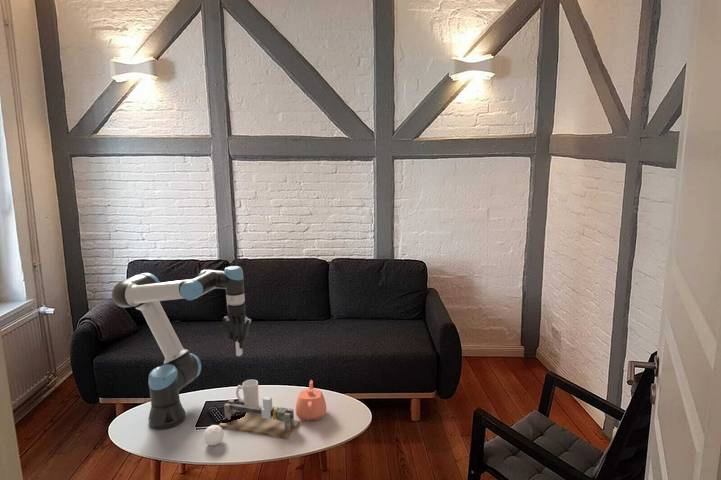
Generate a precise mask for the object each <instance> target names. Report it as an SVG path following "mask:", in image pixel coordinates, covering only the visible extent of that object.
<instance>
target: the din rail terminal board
mask: <svg viewBox="0 0 721 480" xmlns="http://www.w3.org/2000/svg"><path fill="white" fill-rule="evenodd" d="M262 408H263V407H252V406H245V405H243V404H240V403H239V404H238V403H235V399H229V400H228V402H226V403H225V404H224V405H223V409H224V410H223V411H224V419H226V418H227V419H228V420H230V419H231V414H234V413H235V411H241V412H246V414H245V416H244V417H242V418H240V419H237V420H233V421H231V422H228V423H221V422H220V423H219V424H218V425H219V426H220V427H221V428H222V429H227V430H232V431H238V432H244V433H250V434H256V435H262V436H267V437H272V438H279V439H286V440H289V438H290V437H291V436H292V434H294V432H295V431H296V429H297V428H298V427H299V425H300V423H301V422H300V421H301V420H295V417H294V416H295V413H294V408H287V407H278V406H277V407H274V410H272V411H271V416H273V417H272V418H271V419H264V418H262V413H261V409H262Z"/></svg>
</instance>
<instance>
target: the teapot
mask: <svg viewBox="0 0 721 480" xmlns="http://www.w3.org/2000/svg"><path fill="white" fill-rule="evenodd" d="M326 411H327V403H326V400H325V397H324V394H323V392H322V391H321V389H317V388H314V382H313V380H312V379H310V380H309V387H308V389H302V390H301V391H300V392H299V395H298V396H297V399H296V403H295V415H296V416H297V418H298V419H300V420H301V421H302V422H306V421H311V420H316V421H320V420H321V419H322V418H323V417H324V416H325V414H326Z"/></svg>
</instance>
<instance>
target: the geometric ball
mask: <svg viewBox="0 0 721 480" xmlns="http://www.w3.org/2000/svg"><path fill="white" fill-rule="evenodd" d="M224 435H225V432H224V430H223V428H221V427H220V426H219V424H212V425H210V426H208V427H206V428H205V430H204V432H203V439H204V441H205V443H206V444H208V445H209V446H216V445H219V444H220V443H221V442H222V441H223V439H224Z"/></svg>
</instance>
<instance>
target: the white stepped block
mask: <svg viewBox="0 0 721 480" xmlns="http://www.w3.org/2000/svg"><path fill="white" fill-rule="evenodd" d="M261 408H262V409H261V413H262V414H261V415H262V418H264V419H271V418H272V417H273V416H271V411H272V410H275V405H273V398H272V396H264V397H263V398H262V407H261Z"/></svg>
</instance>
